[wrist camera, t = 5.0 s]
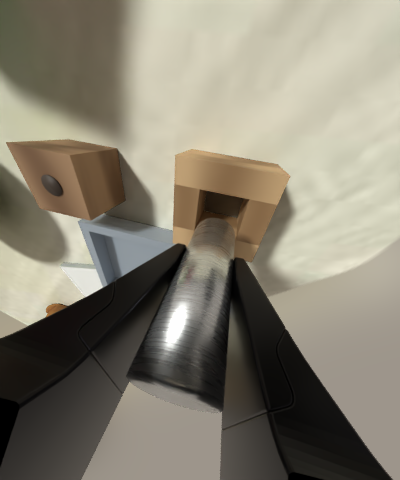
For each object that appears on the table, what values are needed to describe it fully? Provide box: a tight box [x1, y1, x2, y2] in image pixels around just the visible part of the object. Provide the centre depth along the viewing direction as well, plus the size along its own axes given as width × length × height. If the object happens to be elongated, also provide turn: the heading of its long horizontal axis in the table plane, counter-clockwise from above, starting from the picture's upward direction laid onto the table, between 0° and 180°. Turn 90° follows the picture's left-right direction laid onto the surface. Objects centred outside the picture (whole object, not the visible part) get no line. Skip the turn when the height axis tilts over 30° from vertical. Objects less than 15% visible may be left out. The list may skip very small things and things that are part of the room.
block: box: [6, 140, 125, 221], centre depth 14 cm, size 5×5×5 cm
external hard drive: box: [60, 262, 103, 297], centre depth 29 cm, size 2×8×12 cm
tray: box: [78, 214, 187, 287], centre depth 21 cm, size 12×12×2 cm
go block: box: [173, 149, 290, 262], centre depth 13 cm, size 7×7×4 cm
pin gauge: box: [126, 218, 235, 413], centre depth 7 cm, size 2×2×7 cm
